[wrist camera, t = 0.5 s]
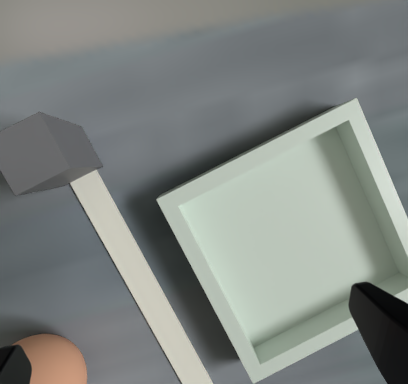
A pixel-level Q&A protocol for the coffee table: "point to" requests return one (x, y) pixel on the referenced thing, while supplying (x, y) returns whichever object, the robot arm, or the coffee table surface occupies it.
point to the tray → (293, 236)
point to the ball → (54, 360)
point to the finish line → (95, 220)
